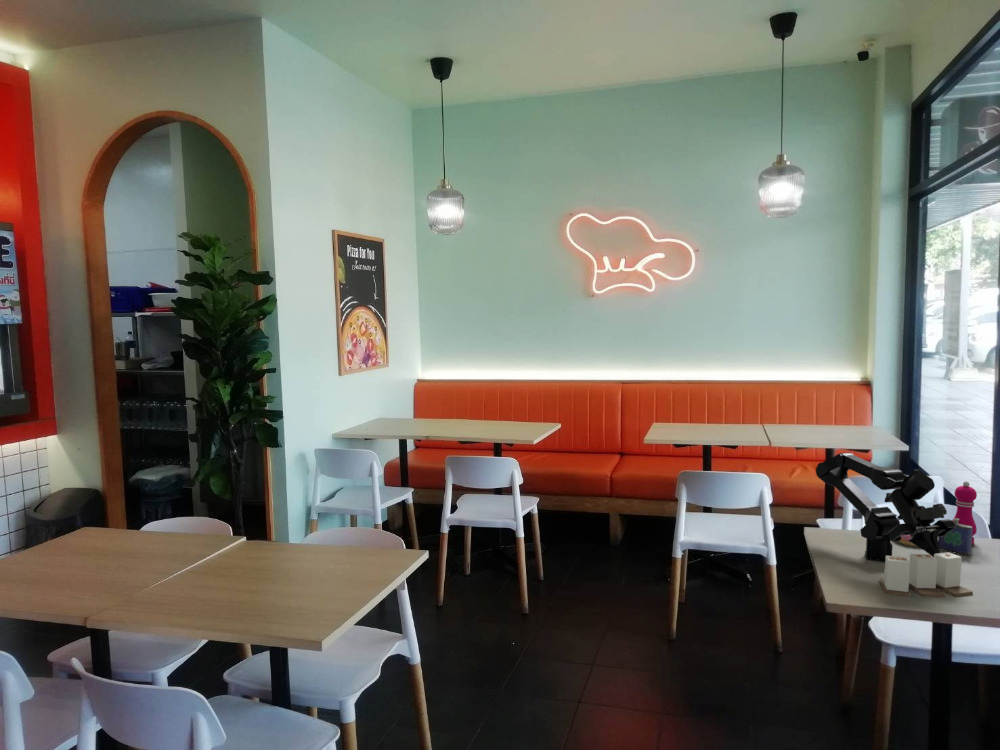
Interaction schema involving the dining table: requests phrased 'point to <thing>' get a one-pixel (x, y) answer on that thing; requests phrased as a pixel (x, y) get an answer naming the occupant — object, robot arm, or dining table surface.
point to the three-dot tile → (897, 573)
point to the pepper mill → (965, 506)
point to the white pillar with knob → (948, 569)
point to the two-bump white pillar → (923, 571)
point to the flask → (957, 539)
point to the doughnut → (906, 540)
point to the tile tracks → (930, 591)
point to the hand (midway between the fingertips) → (938, 558)
